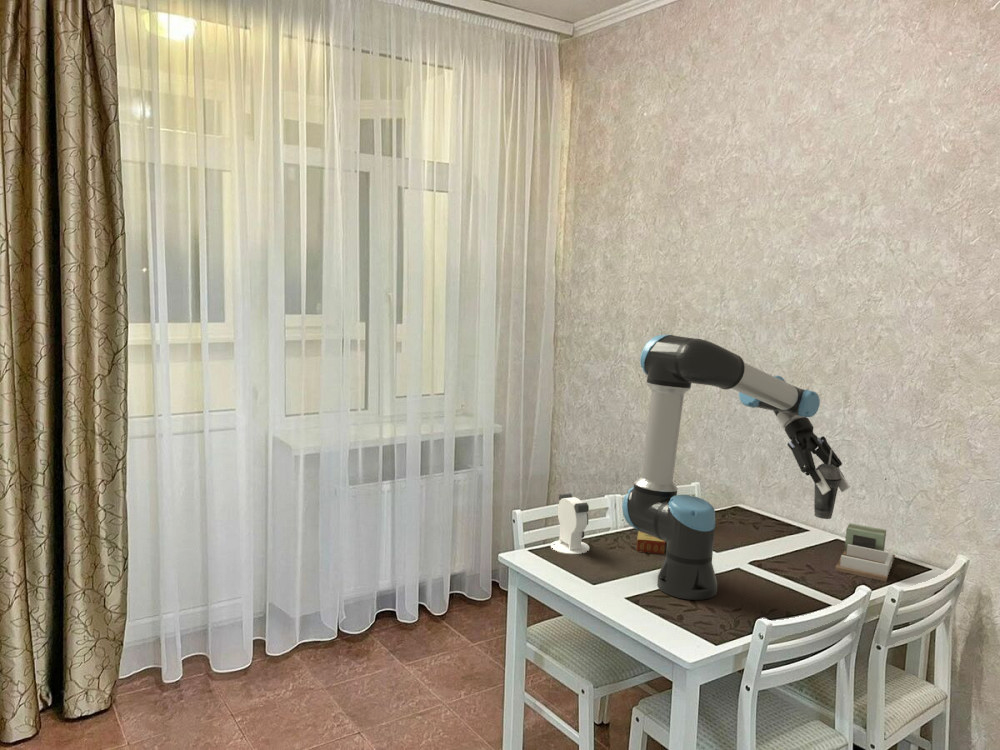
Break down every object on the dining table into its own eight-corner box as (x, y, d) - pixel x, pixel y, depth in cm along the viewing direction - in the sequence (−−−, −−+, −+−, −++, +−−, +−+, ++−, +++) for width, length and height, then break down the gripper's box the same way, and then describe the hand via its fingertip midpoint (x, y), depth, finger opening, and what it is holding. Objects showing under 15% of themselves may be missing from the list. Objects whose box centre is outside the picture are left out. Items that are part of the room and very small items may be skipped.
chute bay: (887, 576, 213) (888, 565, 212) (840, 566, 219) (841, 556, 219) (892, 563, 223) (893, 553, 222) (846, 553, 229) (847, 543, 229)
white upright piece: (597, 552, 226) (600, 502, 224) (563, 557, 222) (566, 506, 220) (576, 538, 237) (579, 491, 235) (544, 543, 232) (546, 494, 230)
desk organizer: (886, 581, 212) (889, 553, 210) (835, 570, 218) (837, 543, 217) (894, 558, 230) (897, 532, 229) (847, 548, 236) (849, 523, 235)
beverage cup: (832, 513, 226) (839, 446, 224) (840, 521, 219) (847, 451, 216) (806, 511, 227) (813, 444, 224) (813, 519, 220) (820, 450, 217)
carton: (635, 552, 228) (636, 538, 228) (637, 535, 244) (638, 521, 243) (664, 555, 226) (665, 541, 226) (665, 537, 242) (665, 524, 241)
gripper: (811, 428, 238) (851, 493, 226) (763, 432, 229) (802, 501, 217) (827, 414, 233) (869, 480, 221) (779, 417, 223) (820, 487, 211)
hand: (836, 490), depth 219 cm, fingers closed on beverage cup, 7 cm apart
